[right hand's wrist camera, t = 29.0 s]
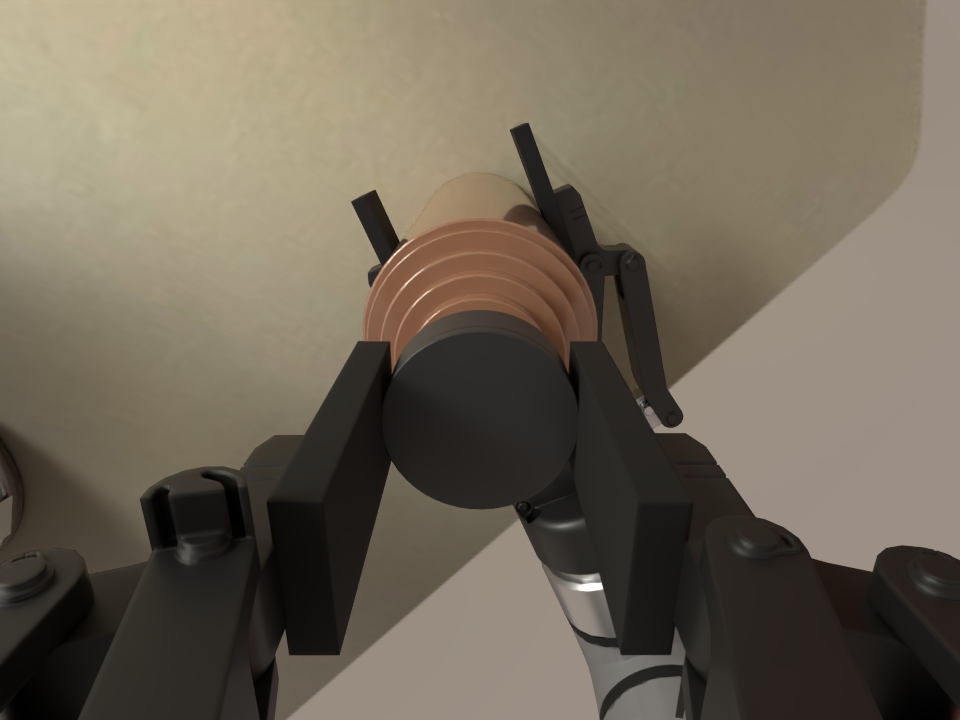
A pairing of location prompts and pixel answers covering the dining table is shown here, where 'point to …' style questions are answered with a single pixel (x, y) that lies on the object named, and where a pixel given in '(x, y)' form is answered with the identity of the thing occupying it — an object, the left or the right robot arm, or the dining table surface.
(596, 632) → the left robot arm
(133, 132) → the dining table surface
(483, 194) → the bottle
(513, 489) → the cap
